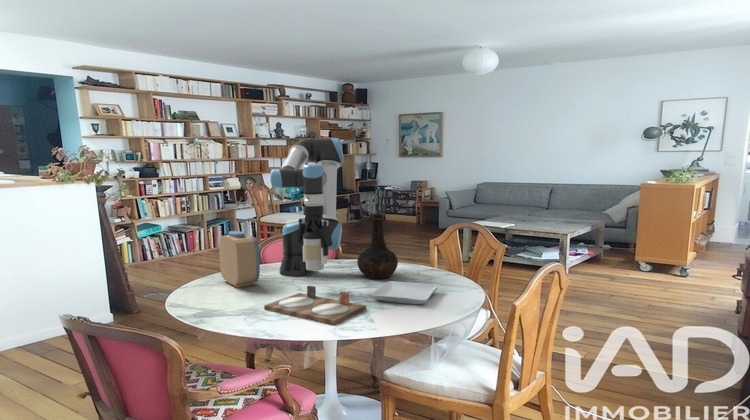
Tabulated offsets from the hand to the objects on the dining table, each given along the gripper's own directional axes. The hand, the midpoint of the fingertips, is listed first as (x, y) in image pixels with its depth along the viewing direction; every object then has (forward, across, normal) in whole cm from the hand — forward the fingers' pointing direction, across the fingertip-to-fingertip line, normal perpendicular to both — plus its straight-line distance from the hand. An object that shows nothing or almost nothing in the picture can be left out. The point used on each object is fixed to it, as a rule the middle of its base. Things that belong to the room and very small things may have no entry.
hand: (314, 262), depth 184 cm
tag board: (+11, +15, -19) cm, 27 cm away
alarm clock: (+12, -35, -8) cm, 37 cm away
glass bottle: (+12, +8, +32) cm, 36 cm away
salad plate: (+12, +34, +11) cm, 38 cm away
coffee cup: (+3, 0, 0) cm, 3 cm away
